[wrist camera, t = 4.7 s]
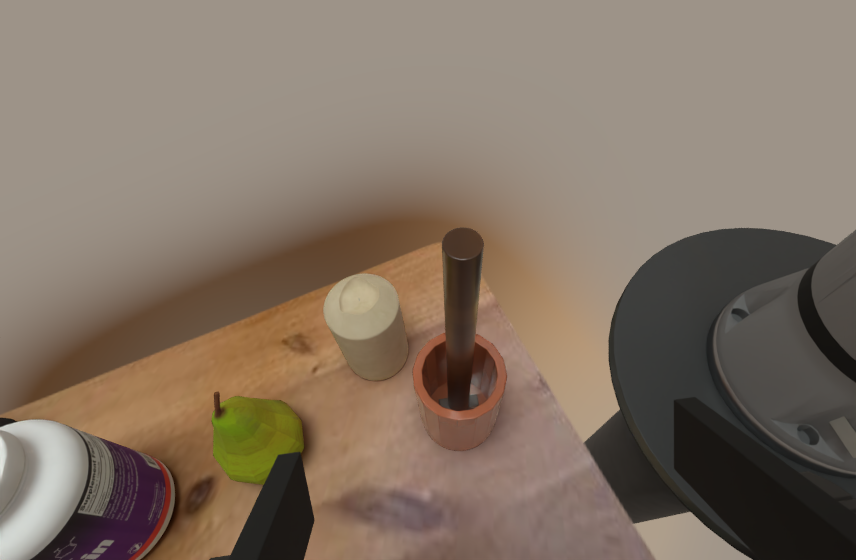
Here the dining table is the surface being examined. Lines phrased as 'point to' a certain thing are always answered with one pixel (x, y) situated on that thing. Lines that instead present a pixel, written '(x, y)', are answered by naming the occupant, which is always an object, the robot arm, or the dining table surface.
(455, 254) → the stirring stick
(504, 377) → the crock
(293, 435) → the fruit
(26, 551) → the pill bottle
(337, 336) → the candle
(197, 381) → the dining table surface
